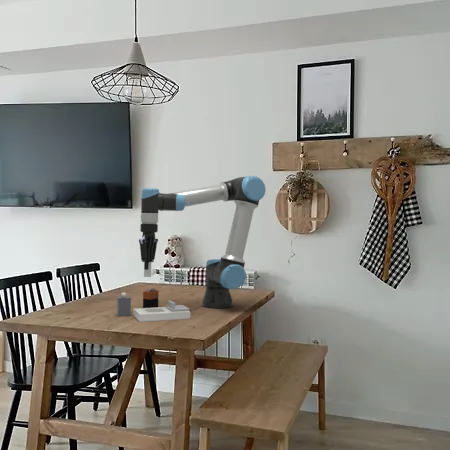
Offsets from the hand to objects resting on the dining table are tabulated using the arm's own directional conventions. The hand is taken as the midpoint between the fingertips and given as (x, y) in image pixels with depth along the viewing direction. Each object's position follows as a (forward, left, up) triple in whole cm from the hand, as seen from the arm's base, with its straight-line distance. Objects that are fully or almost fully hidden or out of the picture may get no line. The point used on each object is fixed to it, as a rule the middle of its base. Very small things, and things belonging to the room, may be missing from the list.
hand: (147, 276), depth 227 cm
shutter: (-13, +4, -14) cm, 19 cm away
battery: (-5, -13, -18) cm, 23 cm away
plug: (+9, -5, -17) cm, 21 cm away
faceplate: (-6, +4, -17) cm, 19 cm away
